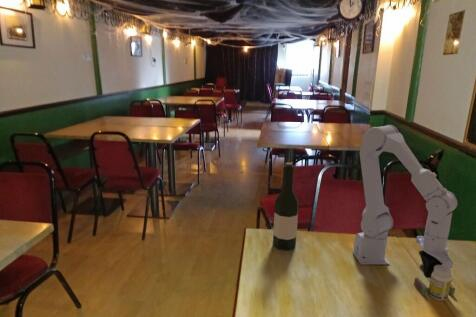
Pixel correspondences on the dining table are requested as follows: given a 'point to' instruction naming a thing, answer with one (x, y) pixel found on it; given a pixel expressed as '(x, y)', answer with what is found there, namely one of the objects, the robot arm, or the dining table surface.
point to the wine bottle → (286, 213)
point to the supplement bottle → (440, 283)
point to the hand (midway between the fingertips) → (428, 276)
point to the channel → (423, 288)
